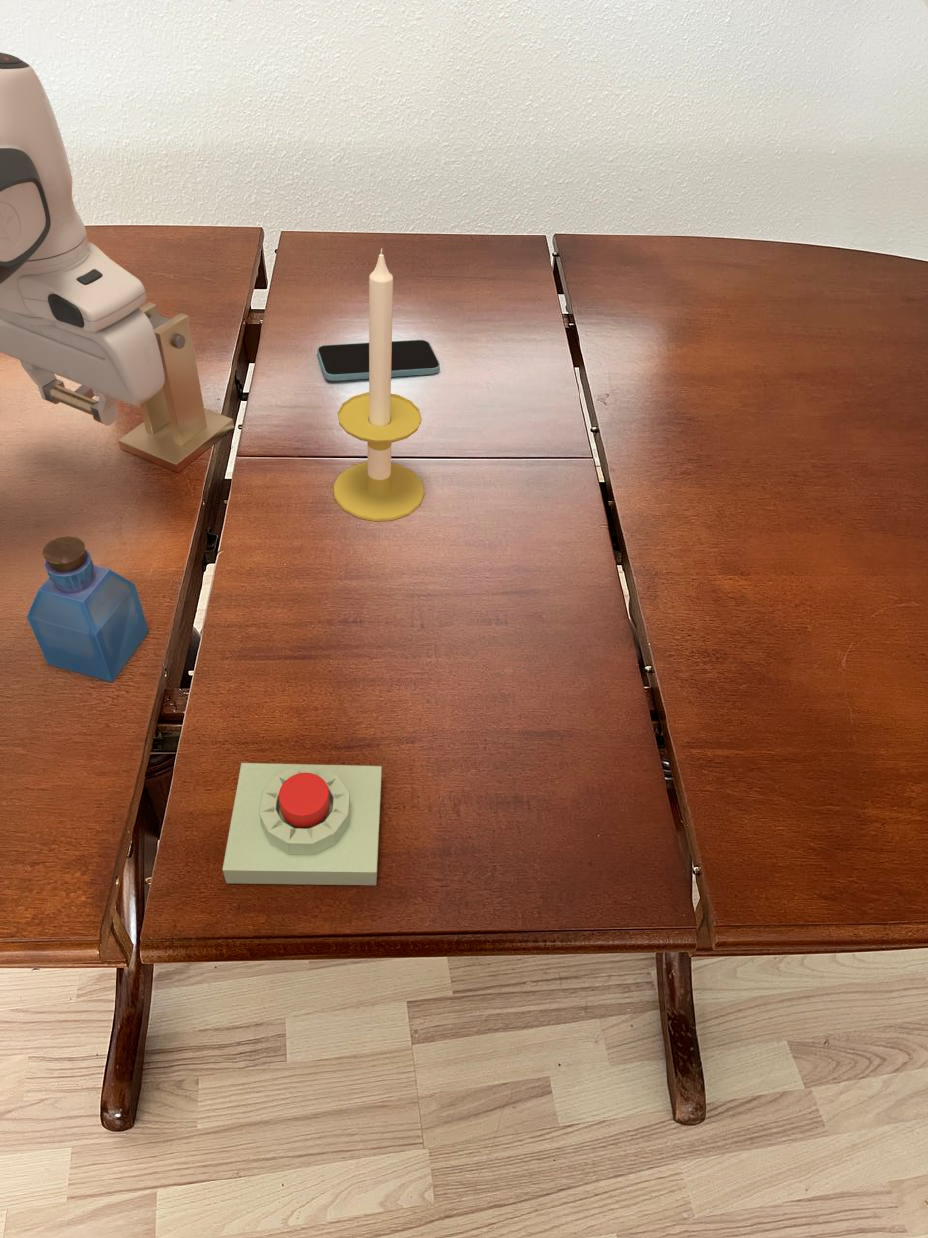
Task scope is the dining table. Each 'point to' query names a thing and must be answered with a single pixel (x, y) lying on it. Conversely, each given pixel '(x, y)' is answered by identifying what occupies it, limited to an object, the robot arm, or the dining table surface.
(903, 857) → the dining table surface
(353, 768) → the control box
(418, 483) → the candle
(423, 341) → the smartphone
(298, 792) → the button
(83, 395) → the lever
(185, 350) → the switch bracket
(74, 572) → the perfume bottle
